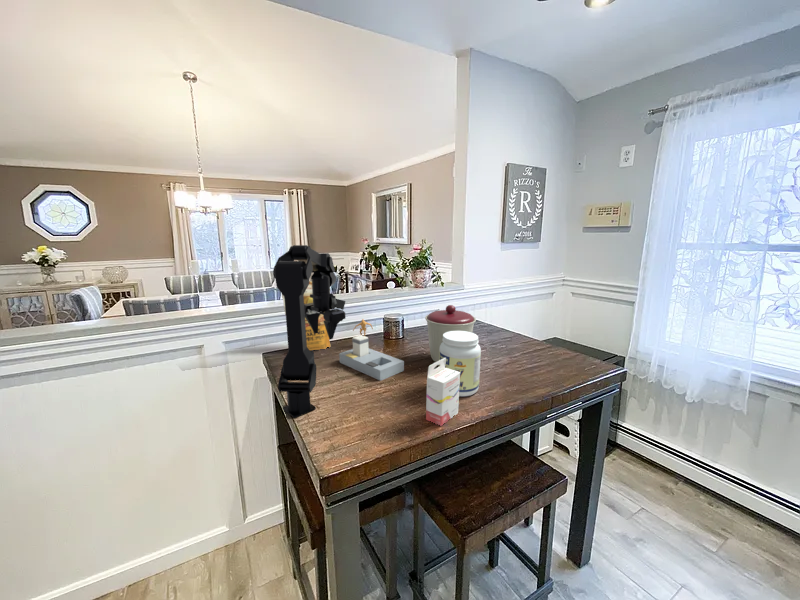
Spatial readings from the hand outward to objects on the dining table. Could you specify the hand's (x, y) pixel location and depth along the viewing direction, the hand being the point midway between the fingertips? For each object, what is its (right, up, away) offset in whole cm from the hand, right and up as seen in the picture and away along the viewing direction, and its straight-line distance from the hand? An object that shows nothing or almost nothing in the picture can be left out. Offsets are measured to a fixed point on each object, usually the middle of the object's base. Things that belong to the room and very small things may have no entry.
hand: (323, 336), depth 113 cm
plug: (+12, -10, +8) cm, 18 cm away
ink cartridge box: (+37, -18, -27) cm, 50 cm away
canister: (+44, -10, +9) cm, 47 cm away
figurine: (+11, -7, +25) cm, 28 cm away
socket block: (+16, -11, +4) cm, 20 cm away
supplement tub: (+44, -15, -12) cm, 48 cm away
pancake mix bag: (-11, -8, +22) cm, 26 cm away
